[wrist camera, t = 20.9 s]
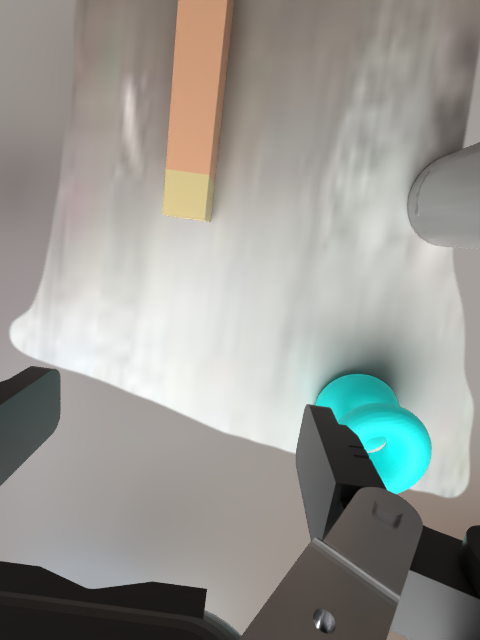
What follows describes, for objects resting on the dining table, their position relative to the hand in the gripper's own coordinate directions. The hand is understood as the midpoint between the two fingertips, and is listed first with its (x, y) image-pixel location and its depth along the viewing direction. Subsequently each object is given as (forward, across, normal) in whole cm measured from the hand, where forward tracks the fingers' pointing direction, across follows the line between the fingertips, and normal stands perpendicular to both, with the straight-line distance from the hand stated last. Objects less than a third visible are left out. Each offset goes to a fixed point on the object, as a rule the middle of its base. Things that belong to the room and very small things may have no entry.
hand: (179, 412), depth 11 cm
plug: (+28, +5, -17) cm, 33 cm away
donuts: (+28, -17, +13) cm, 36 cm away
